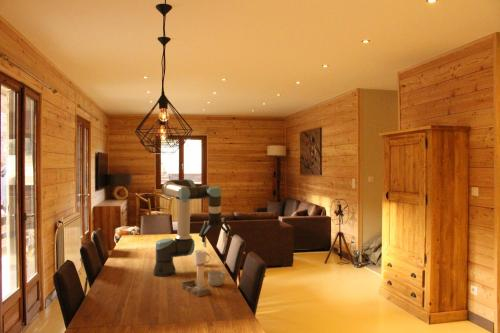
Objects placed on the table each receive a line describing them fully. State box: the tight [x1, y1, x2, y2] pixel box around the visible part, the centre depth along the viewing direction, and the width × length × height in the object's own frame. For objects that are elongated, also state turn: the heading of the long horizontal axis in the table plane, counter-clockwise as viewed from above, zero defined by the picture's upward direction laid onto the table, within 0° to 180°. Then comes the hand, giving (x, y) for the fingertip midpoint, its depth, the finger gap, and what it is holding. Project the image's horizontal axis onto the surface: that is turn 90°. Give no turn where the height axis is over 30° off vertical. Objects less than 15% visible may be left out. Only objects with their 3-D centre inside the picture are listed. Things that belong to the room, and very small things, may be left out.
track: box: [181, 279, 212, 297], centre depth 249 cm, size 20×8×4 cm, turn 36°
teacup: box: [207, 270, 226, 287], centre depth 261 cm, size 14×11×8 cm
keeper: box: [194, 263, 208, 292], centre depth 245 cm, size 6×5×16 cm
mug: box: [193, 249, 212, 267], centre depth 315 cm, size 9×12×11 cm
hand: (214, 244), depth 260 cm, fingers open, 13 cm apart
